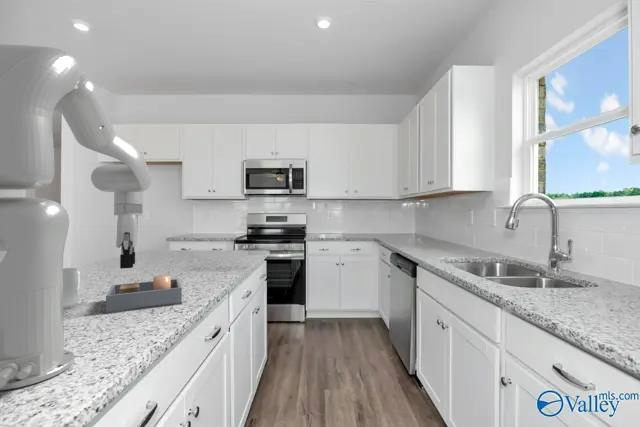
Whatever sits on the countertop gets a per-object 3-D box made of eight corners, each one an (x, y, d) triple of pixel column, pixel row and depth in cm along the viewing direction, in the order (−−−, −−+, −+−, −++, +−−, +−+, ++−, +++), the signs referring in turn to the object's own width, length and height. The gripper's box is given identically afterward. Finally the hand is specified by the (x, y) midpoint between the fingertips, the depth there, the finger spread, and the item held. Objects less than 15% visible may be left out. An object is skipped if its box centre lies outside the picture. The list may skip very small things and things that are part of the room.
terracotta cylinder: (153, 301, 98) (153, 279, 98) (153, 297, 103) (153, 276, 103) (171, 299, 101) (170, 277, 101) (170, 295, 105) (170, 274, 105)
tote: (178, 292, 111) (178, 278, 111) (181, 303, 98) (181, 287, 98) (112, 300, 101) (112, 285, 101) (106, 313, 89) (105, 296, 88)
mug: (62, 311, 90) (61, 273, 90) (31, 312, 90) (30, 273, 90) (92, 299, 102) (91, 265, 102) (64, 300, 102) (64, 266, 102)
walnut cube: (119, 305, 94) (119, 289, 94) (121, 301, 98) (120, 285, 98) (138, 303, 96) (138, 287, 96) (139, 299, 101) (139, 283, 101)
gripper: (117, 211, 103) (116, 264, 102) (110, 209, 87) (109, 270, 87) (143, 211, 106) (143, 262, 106) (141, 209, 91) (140, 268, 90)
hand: (128, 266), depth 96 cm, fingers open, 9 cm apart
